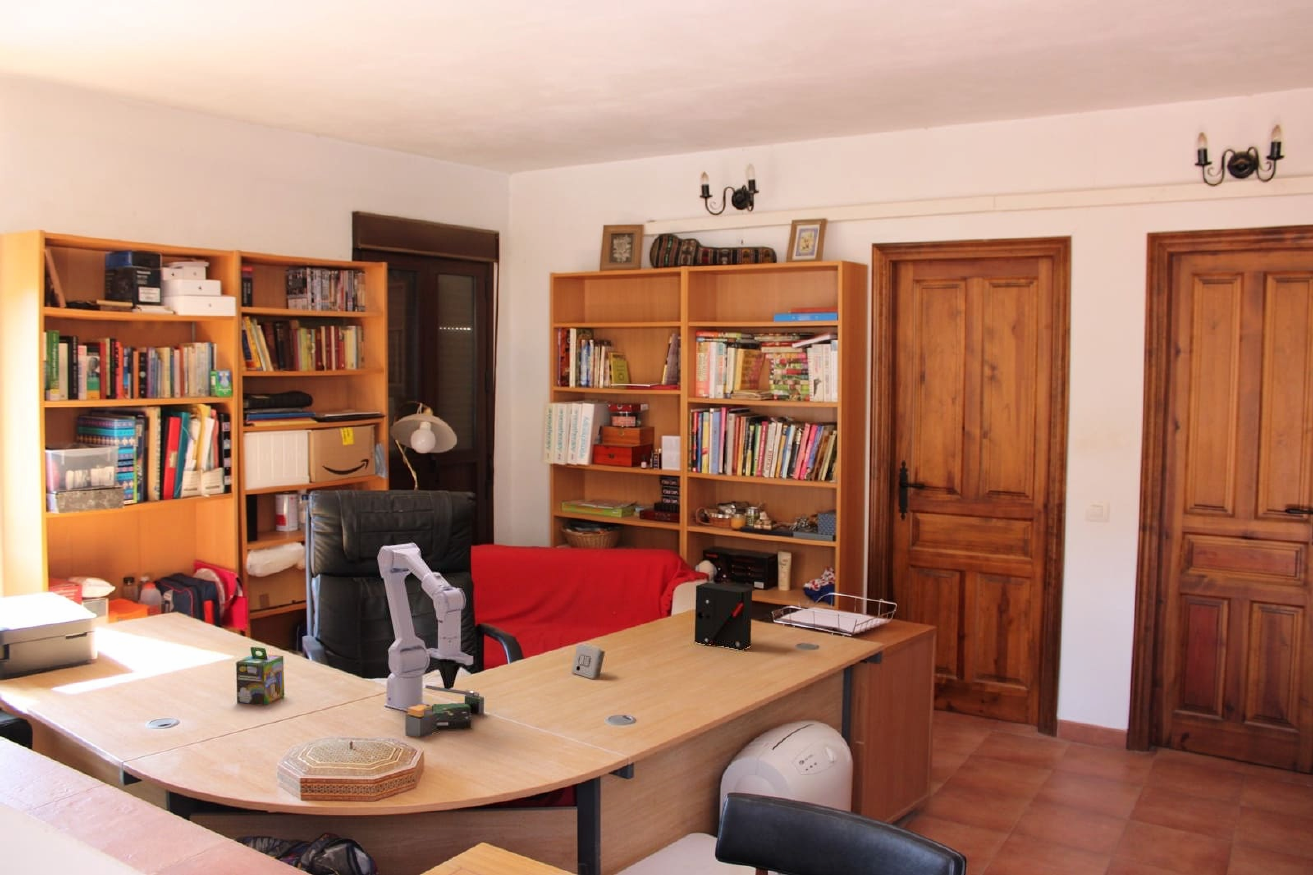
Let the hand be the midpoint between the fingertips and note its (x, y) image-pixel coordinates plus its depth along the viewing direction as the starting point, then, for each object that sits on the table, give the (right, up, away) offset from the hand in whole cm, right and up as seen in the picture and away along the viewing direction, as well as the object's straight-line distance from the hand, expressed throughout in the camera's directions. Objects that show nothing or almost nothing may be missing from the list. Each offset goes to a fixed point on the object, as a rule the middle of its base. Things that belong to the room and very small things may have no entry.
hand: (448, 687), depth 277 cm
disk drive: (0, -9, +2) cm, 9 cm away
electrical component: (+77, -6, +86) cm, 115 cm away
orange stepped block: (-6, -4, -9) cm, 11 cm away
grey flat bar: (+1, -2, +1) cm, 2 cm away
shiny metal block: (-1, -9, 0) cm, 9 cm away
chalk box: (-55, -7, +16) cm, 58 cm away
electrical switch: (+33, -7, +47) cm, 58 cm away
